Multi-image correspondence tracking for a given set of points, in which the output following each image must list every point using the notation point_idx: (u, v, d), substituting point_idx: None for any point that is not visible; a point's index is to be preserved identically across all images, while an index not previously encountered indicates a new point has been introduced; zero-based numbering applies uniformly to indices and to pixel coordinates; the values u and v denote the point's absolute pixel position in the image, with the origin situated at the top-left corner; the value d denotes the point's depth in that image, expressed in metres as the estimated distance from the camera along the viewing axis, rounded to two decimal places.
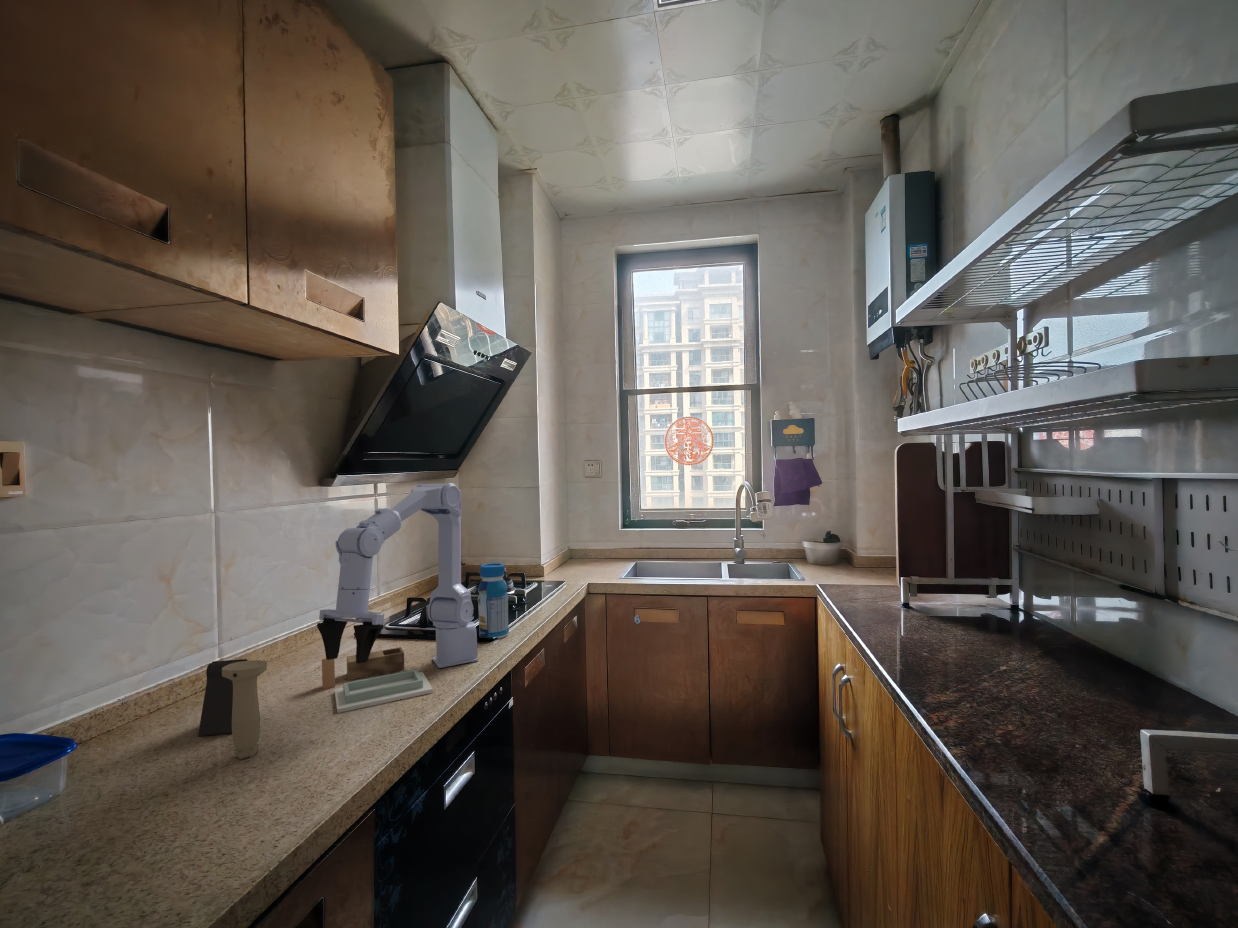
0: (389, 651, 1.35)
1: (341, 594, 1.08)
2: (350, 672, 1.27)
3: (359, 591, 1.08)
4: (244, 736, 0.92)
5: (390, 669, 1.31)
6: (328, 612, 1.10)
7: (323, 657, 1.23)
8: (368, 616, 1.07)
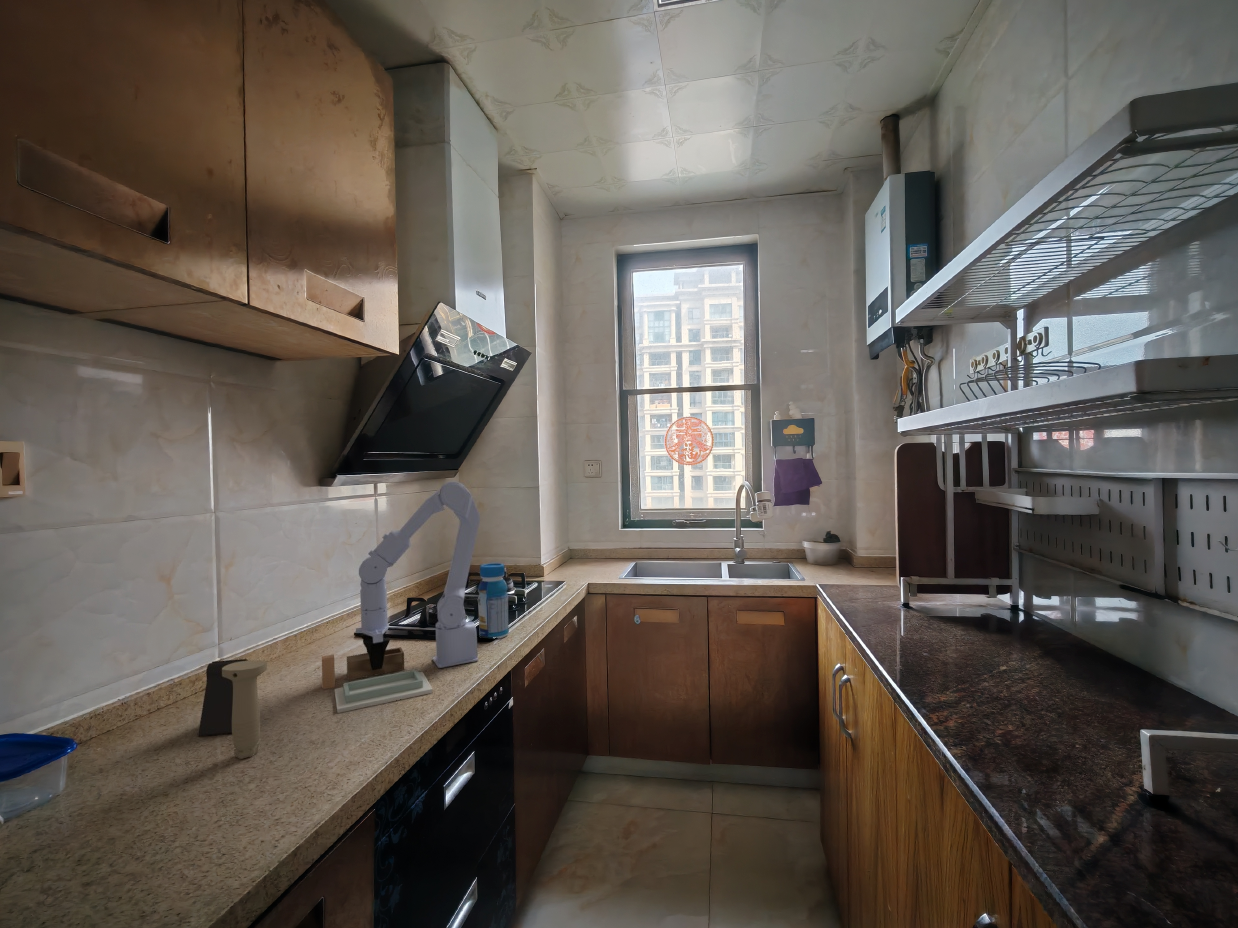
0: (389, 651, 1.35)
1: (361, 613, 1.31)
2: (350, 672, 1.27)
3: (369, 612, 1.29)
4: (244, 736, 0.92)
5: (390, 669, 1.31)
6: None
7: (323, 657, 1.23)
8: (371, 634, 1.27)
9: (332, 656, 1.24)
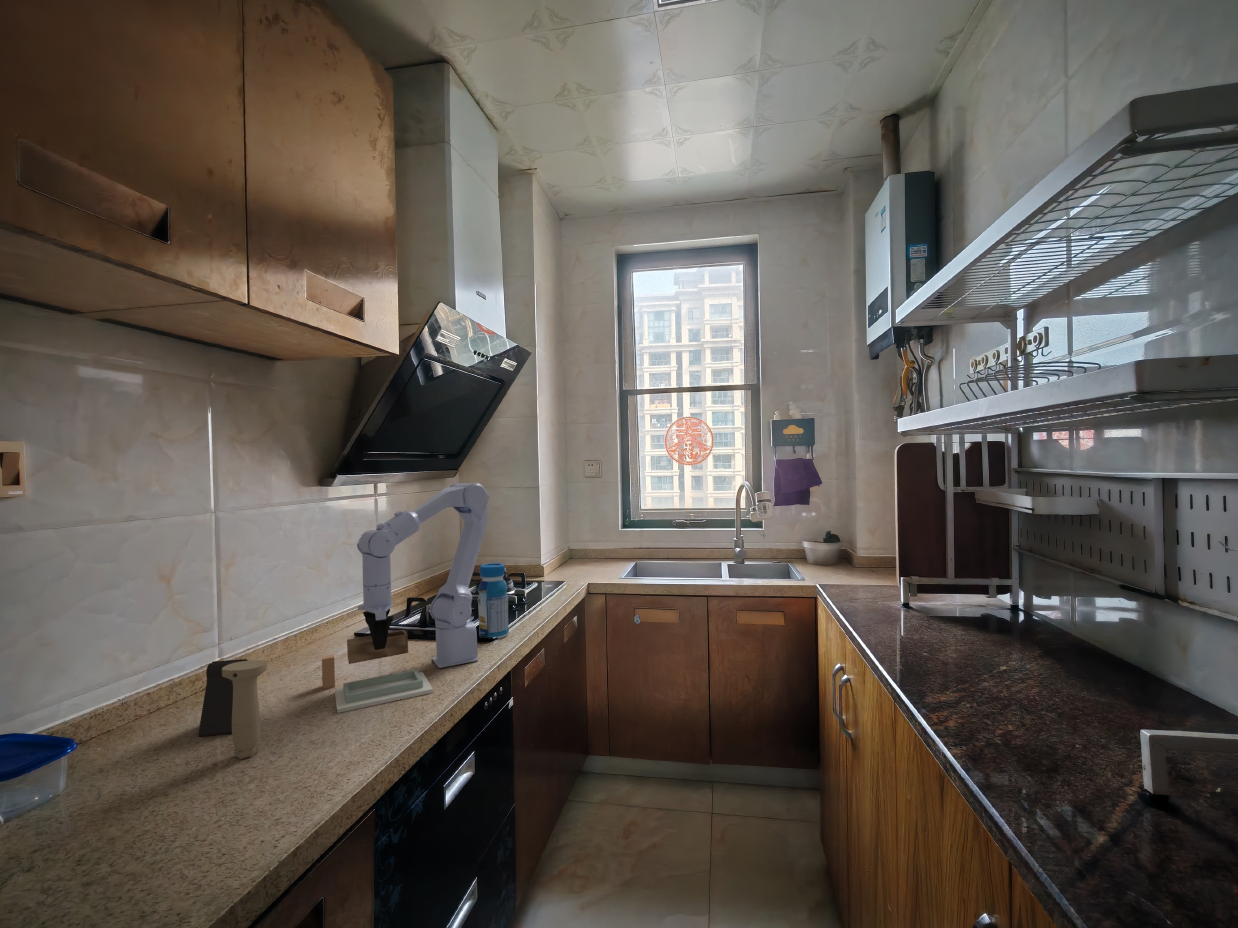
0: (392, 634, 1.28)
1: (363, 589, 1.23)
2: (351, 655, 1.20)
3: (372, 588, 1.22)
4: (244, 736, 0.92)
5: (393, 652, 1.24)
6: None
7: (323, 657, 1.23)
8: (373, 611, 1.19)
9: (332, 656, 1.24)
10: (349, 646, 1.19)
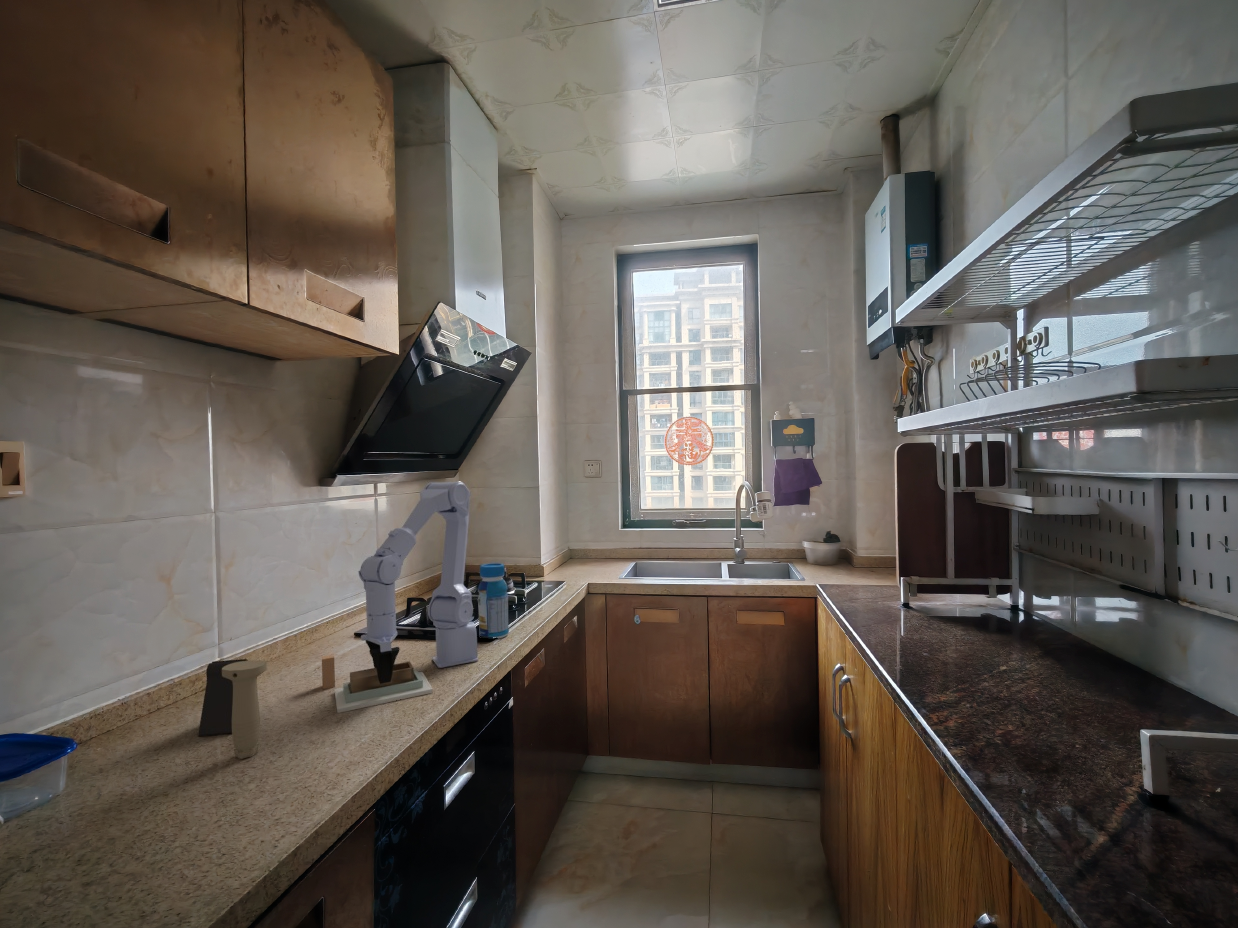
0: (397, 666, 1.22)
1: None
2: (354, 690, 1.14)
3: (376, 617, 1.16)
4: (244, 736, 0.92)
5: None
6: None
7: (323, 657, 1.23)
8: (378, 643, 1.14)
9: (332, 656, 1.24)
10: (353, 680, 1.14)
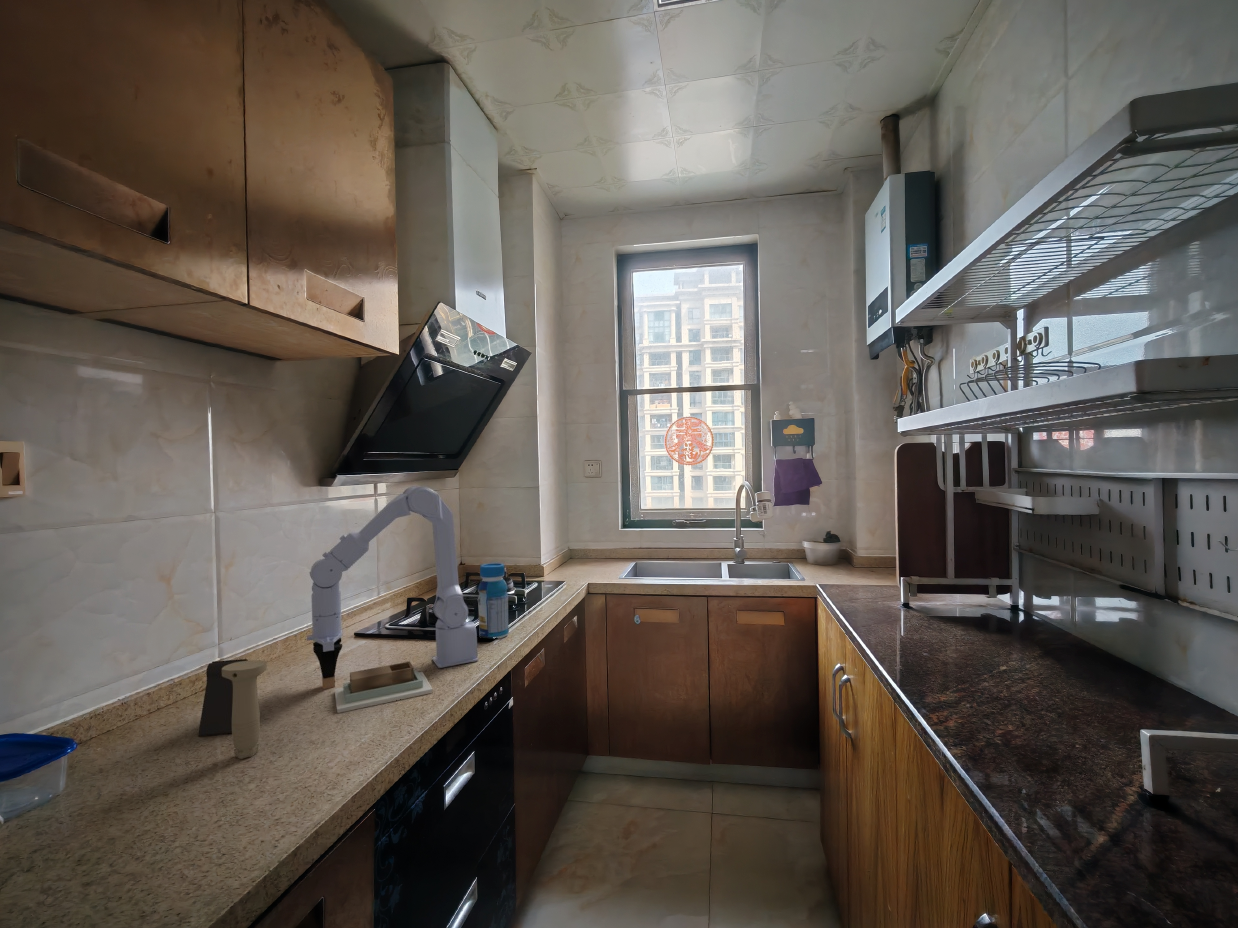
0: (397, 666, 1.22)
1: (312, 619, 1.23)
2: (354, 690, 1.14)
3: (321, 618, 1.21)
4: (244, 736, 0.92)
5: None
6: None
7: None
8: (321, 642, 1.18)
9: None
10: (353, 680, 1.14)
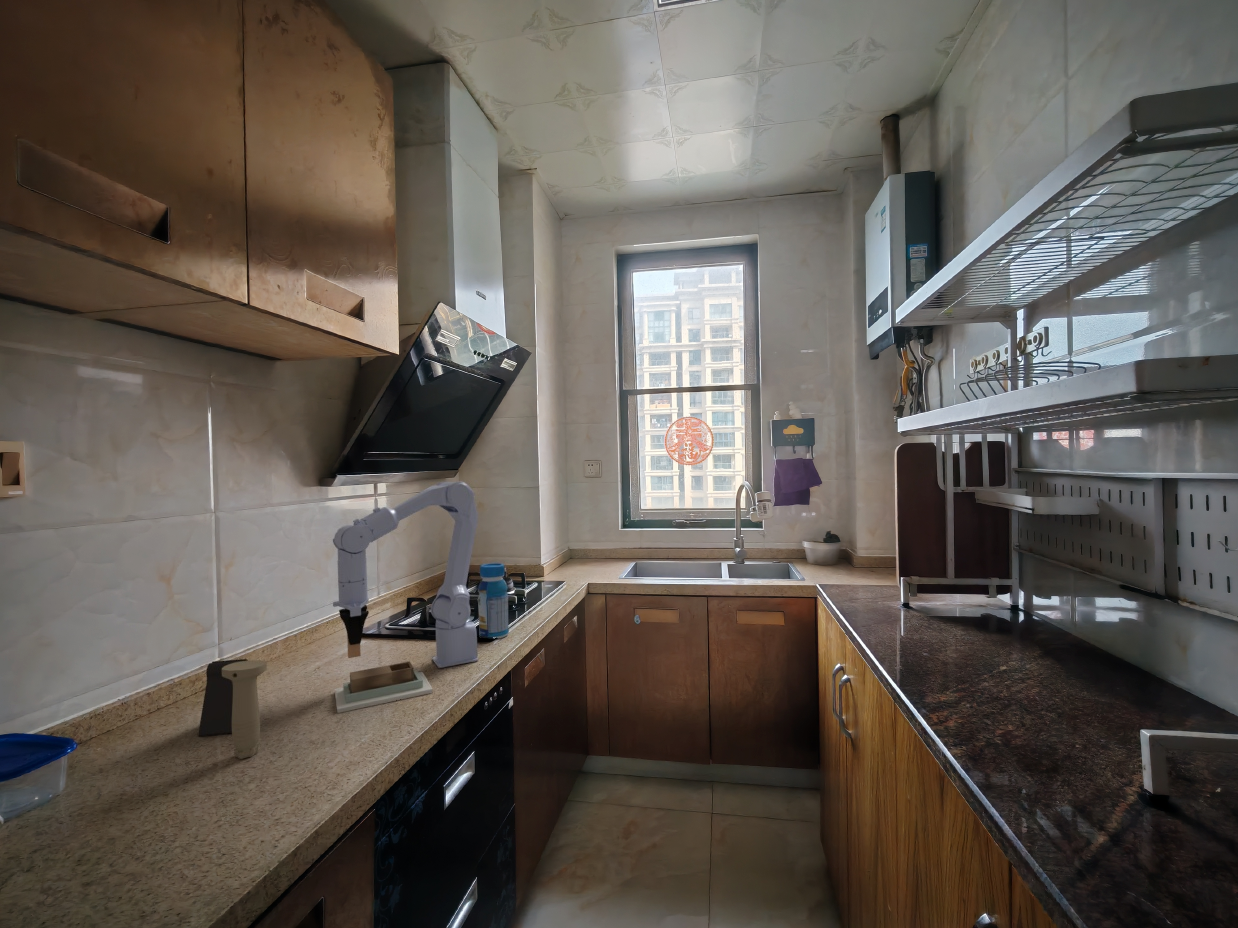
0: (397, 666, 1.22)
1: (338, 586, 1.22)
2: (354, 690, 1.14)
3: (347, 584, 1.20)
4: (244, 736, 0.92)
5: None
6: None
7: None
8: (348, 608, 1.17)
9: None
10: (353, 680, 1.14)
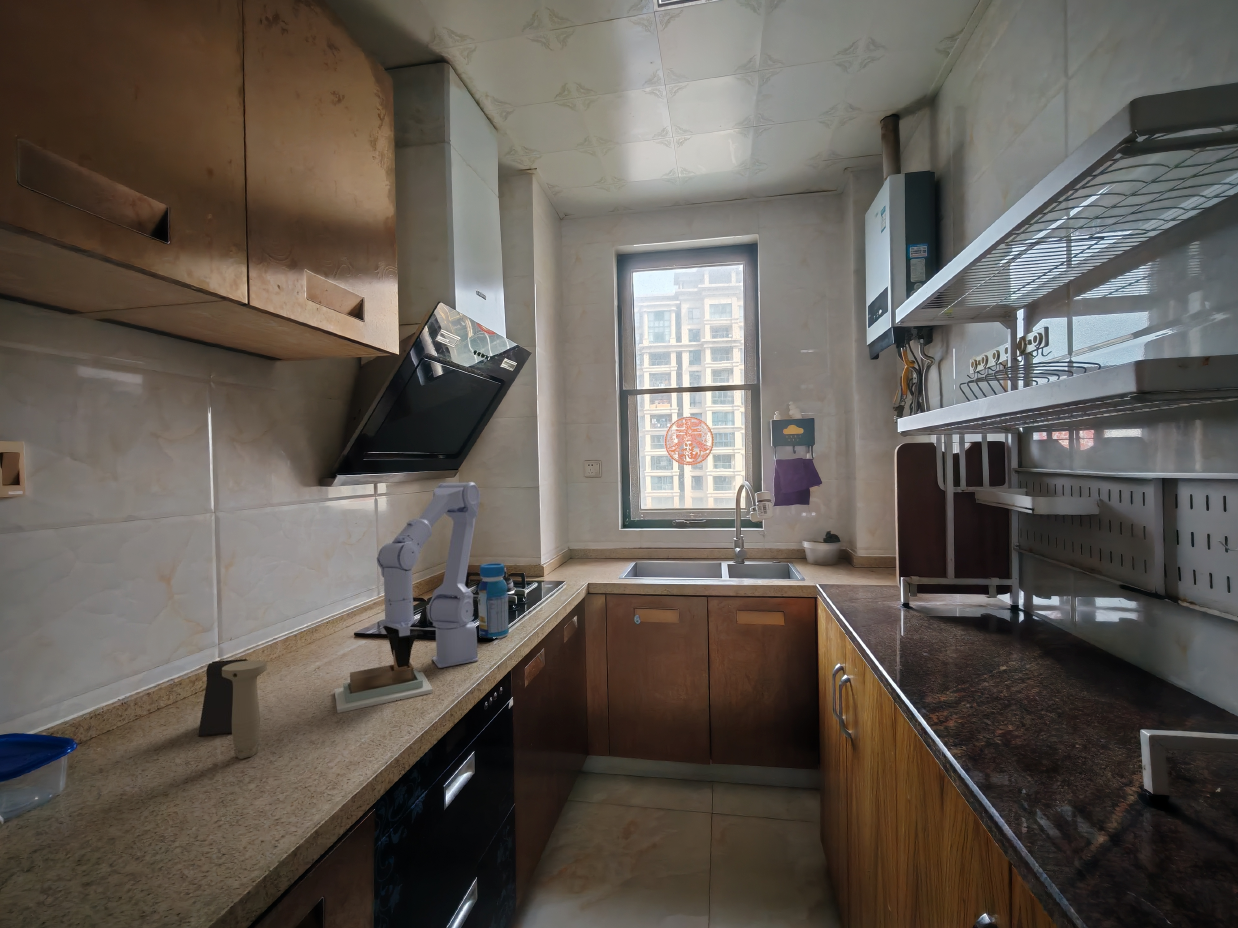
0: None
1: None
2: (354, 690, 1.14)
3: (394, 603, 1.18)
4: (244, 736, 0.92)
5: None
6: None
7: None
8: (396, 627, 1.15)
9: None
10: (353, 680, 1.14)
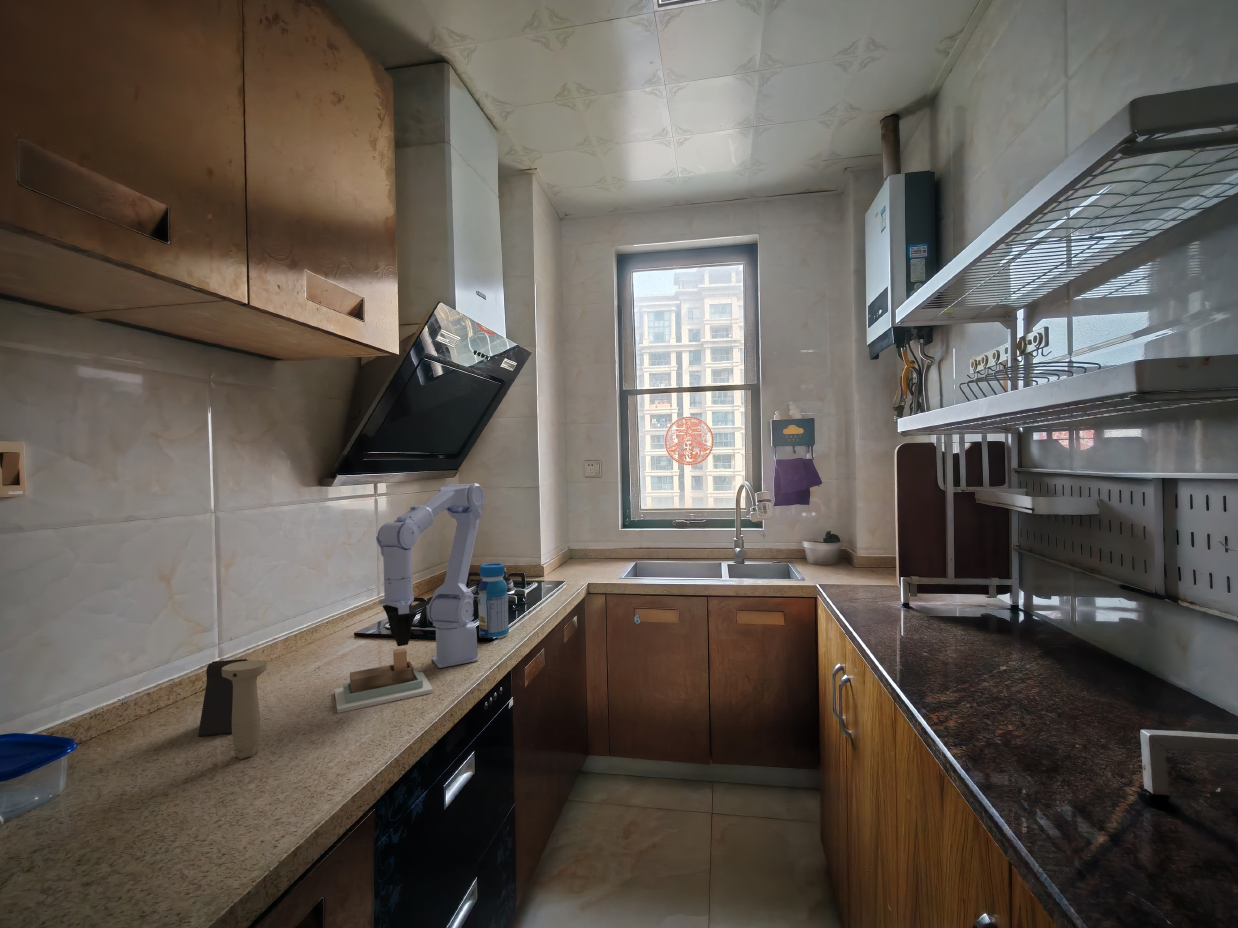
0: None
1: (384, 583, 1.20)
2: (354, 690, 1.14)
3: (394, 581, 1.18)
4: (244, 736, 0.92)
5: None
6: None
7: (395, 651, 1.20)
8: (396, 605, 1.16)
9: (404, 650, 1.21)
10: (353, 680, 1.14)
